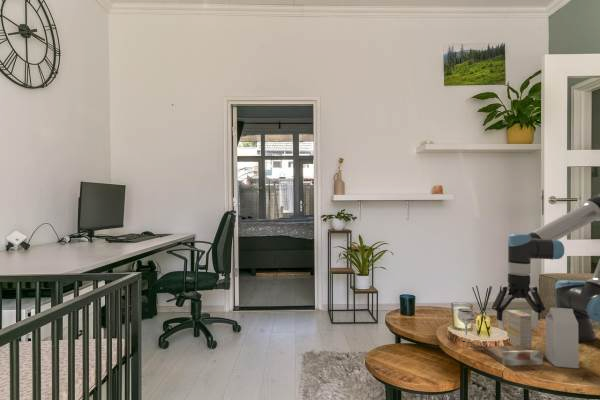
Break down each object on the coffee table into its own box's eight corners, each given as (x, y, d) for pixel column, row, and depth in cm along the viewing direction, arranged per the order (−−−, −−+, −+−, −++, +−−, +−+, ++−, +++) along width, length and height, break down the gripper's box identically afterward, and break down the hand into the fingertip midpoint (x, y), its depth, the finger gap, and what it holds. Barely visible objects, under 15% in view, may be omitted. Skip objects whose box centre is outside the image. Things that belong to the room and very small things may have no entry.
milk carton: (578, 368, 125) (578, 311, 125) (554, 367, 126) (554, 310, 126) (567, 360, 132) (567, 306, 132) (545, 358, 133) (545, 305, 133)
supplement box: (532, 350, 140) (532, 315, 141) (520, 350, 140) (520, 315, 140) (518, 342, 149) (518, 309, 149) (506, 342, 148) (506, 309, 149)
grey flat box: (518, 350, 140) (518, 338, 140) (543, 364, 128) (543, 351, 128) (483, 351, 139) (483, 339, 139) (504, 366, 126) (504, 352, 127)
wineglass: (453, 339, 151) (453, 309, 152) (462, 336, 156) (462, 307, 156) (470, 344, 146) (470, 313, 146) (478, 340, 150) (478, 310, 150)
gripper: (541, 272, 150) (541, 325, 149) (482, 271, 147) (481, 325, 147) (556, 275, 142) (555, 331, 142) (494, 275, 140) (493, 332, 140)
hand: (518, 328), depth 145 cm, fingers open, 13 cm apart
